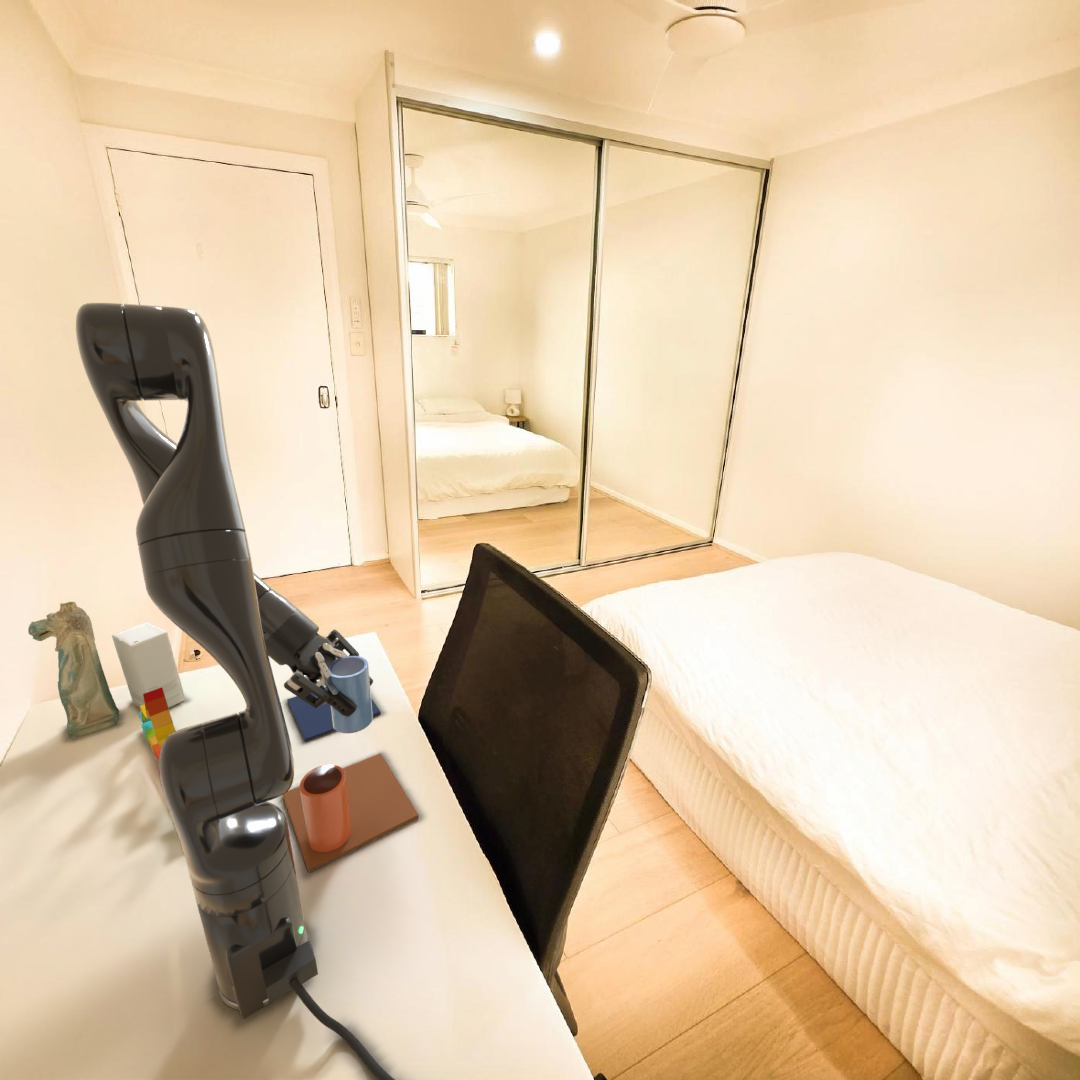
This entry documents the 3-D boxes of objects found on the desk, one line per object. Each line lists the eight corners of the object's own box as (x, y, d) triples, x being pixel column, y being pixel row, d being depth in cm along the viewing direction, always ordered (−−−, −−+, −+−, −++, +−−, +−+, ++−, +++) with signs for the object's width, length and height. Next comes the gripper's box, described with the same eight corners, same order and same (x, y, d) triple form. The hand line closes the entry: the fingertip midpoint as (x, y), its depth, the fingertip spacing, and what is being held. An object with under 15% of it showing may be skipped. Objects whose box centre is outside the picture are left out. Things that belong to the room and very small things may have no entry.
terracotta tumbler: (357, 838, 76) (351, 784, 73) (314, 860, 73) (305, 804, 70) (344, 811, 81) (338, 758, 78) (303, 829, 78) (294, 775, 74)
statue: (60, 727, 97) (20, 605, 89) (117, 707, 103) (84, 591, 95) (65, 746, 93) (23, 619, 85) (124, 724, 99) (90, 603, 90)
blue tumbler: (378, 724, 83) (373, 669, 80) (339, 738, 80) (333, 682, 76) (365, 704, 88) (360, 651, 84) (327, 717, 84) (321, 662, 81)
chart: (219, 820, 79) (201, 739, 74) (195, 833, 77) (174, 750, 72) (164, 724, 99) (146, 655, 94) (143, 733, 97) (124, 662, 92)
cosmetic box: (186, 700, 106) (170, 632, 100) (149, 718, 100) (130, 646, 95) (165, 686, 110) (149, 619, 105) (128, 702, 105) (109, 633, 99)
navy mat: (380, 713, 104) (380, 711, 103) (305, 741, 96) (304, 739, 96) (357, 679, 114) (357, 676, 114) (287, 701, 106) (287, 699, 106)
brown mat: (418, 817, 81) (418, 814, 81) (308, 872, 72) (308, 869, 72) (381, 755, 93) (380, 752, 93) (282, 796, 84) (282, 793, 84)
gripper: (265, 636, 71) (359, 715, 74) (314, 590, 85) (392, 659, 88) (233, 667, 73) (326, 743, 76) (286, 618, 87) (363, 684, 90)
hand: (361, 698), depth 82 cm, fingers closed on blue tumbler, 6 cm apart
